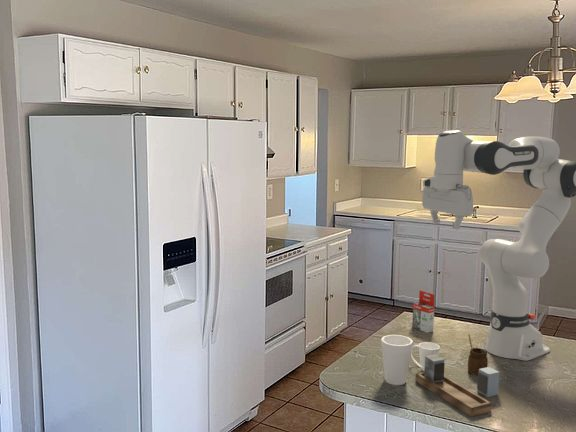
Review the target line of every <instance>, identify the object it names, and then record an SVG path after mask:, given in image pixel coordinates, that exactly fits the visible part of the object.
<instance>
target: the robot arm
mask: <svg viewBox="0 0 576 432" xmlns="http://www.w3.org/2000/svg"><path fill="white" fill-rule="evenodd" d="M435 141H436V142H435V147H434V162H435V163H434V164H435V168H434V171H433V176H431V177H428V178H426V179H424V180H423V181H422V186H423V187H424V188H423V189H422V197H421V200H422V201H421V205H422V207H423V209H425V210H430V216H431V219H432V224H433V225H436V226H437V225H440V223H441V219H440V218H439V215H438V214H439V212H440V213H444V214H445V213H446V214H449V215H454V218H455V221H454V222H453V223H452V226H451V227H452V229H453V230H460V229H461V223H462V221H463V220H464V217H471V216H472V215H473V213H474V198H473V191H472V189H471V188H470V186H469V185H468V184H467V185H464V184H463V183H464V172H470V173H471V172H472V173H478V174H487V175H491V176H492V175H493V176H495V175H499V174H501V173H503V172H504V171H506V170H508V169H509V168H513V169H517V170H518V169H519V170H523V171H522V176H523V180H524V183H525V184H526V185H528V186H529V187H532V188H533V189H541V190H542V193H541V195H540V197H538V199H537V200H536V201H535V202H534V203H533V204H532V205H531V207H530V208H529V209H528V211H527V212H526V213H525V214H524V216H523V217H522V218H521V219H520V221H519V223H518V230H519V231H518V232H519V233H520V239H519V240H518V241H512V240H508V239H505V238H503V239H502V238H490V239H487V240H486V241H484V242H483V244H481V246H480V250H479V257H480V258H479V259H480V260H481V262H482V263H483V264H484V266H485V268H486V269H487V271H488V274H489V277H490V280H491V284H492V285H491V286H492V309H491V310H490V324H489V327H488V335H487V339H485V341H486V342H485V343H486V344H485V345H484V350H486V349H487V353H489V354H492V355H494V356H497V357H500V358H506V359H515V360H520V361H530V360H533V359H535V358H538V357H541V356H543V355H545V354H548V353H550V352H551V351H550V350H551V349H550V347H549V346H547V345H545V344H544V339H543V338H544V337H543V333H542V332H541V331H540V330H538V328H536V327H535V326H533V325H532V324H531V323H530V320H531V321H534V320H535V319H536V314H532V313H527V310H528V298H529V297H528V295H529V294H528V291H527V289H526V288H525V286H524V285H523V284H522V282H521V281H520V278H523V279H540V278H542V277H544V276H545V274H546V273H547V271H548V270H549V267H550V258H549V256H548V253H547V252H546V251H547V245H548V243H549V240H550V239H551V238H552V236H553V235H554V233H555V232H556V230H558V228H559V227H560V225H561V224H562V222H563V220H564V219H565V218H566V216H567V213H568V212H569V210H570V208H571V205H572V200H571V198H575V196H576V160H567V159H560V158H559V157H560V154H561V149H560V148H561V147H560V146H559V143H558V142H557V141H556V140H555V139H552V138H549V137H545V136H539V135H537V136H529V135H528V136H521V137H518V138H514V139H512V140H511V141H510V142H509V143H508V145H507V144H505V143H503V142H502V141H498V140H495V141H494V140H492V141H479V140H478V141H474V140H473V139H471V138H468V136H466V135H465V134H464V131H463V130H459V129H456V130H455V129H451V130H446V131H442V132H440V133H439V134H438V135H437V137H436V140H435ZM487 340H488V342H487ZM487 344H488V345H487Z"/></svg>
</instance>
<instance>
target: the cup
mask: <svg viewBox="0 0 576 432" xmlns="http://www.w3.org/2000/svg"><path fill="white" fill-rule="evenodd" d="M415 347H416V348H418V355H419V362H417V360H416V359H415V358H414V356H413V350H414V348H415ZM440 347H441V346H440V345H439V344H437V343H435V342H430V341H424V342H419V343H418V344H413V349H412V351H411V357H410V359H411V360H412V361H413V362H414V363H415V365H416V366H417V367H419V368H420V369H421V371H422V372H424V371H425V356H430V355H438V356H439V353H440V352H439V351H440Z"/></svg>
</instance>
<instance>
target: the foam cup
mask: <svg viewBox="0 0 576 432" xmlns="http://www.w3.org/2000/svg"><path fill="white" fill-rule="evenodd" d="M380 344H381V345H380V346H381V353H382V363H383V373H384V381H385V382H386V383H388V384H389V385H393V386H401V385H402V386H403V385H404V384H405V383H406V382H407V378H408V372H409V368H410V362H411V351H412V352H413V350H414V348H413V346H414V341H413V339H412V338H410V337H408V336H405V335H401V334H388V335H384V336H382V337H381V339H380ZM412 349H413V350H412Z"/></svg>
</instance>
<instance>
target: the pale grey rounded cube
mask: <svg viewBox="0 0 576 432" xmlns="http://www.w3.org/2000/svg"><path fill="white" fill-rule="evenodd" d="M499 380H500V371H498V370H496V369H494V368H493V367H490V366H487V367H486V368H481V369H479V373H478V375H477V383H476V384H477V386H476V390H477V392H478V393H480V394H481V395H482V396H485V397H487V398H490V397H494V396H498V394H499Z"/></svg>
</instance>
